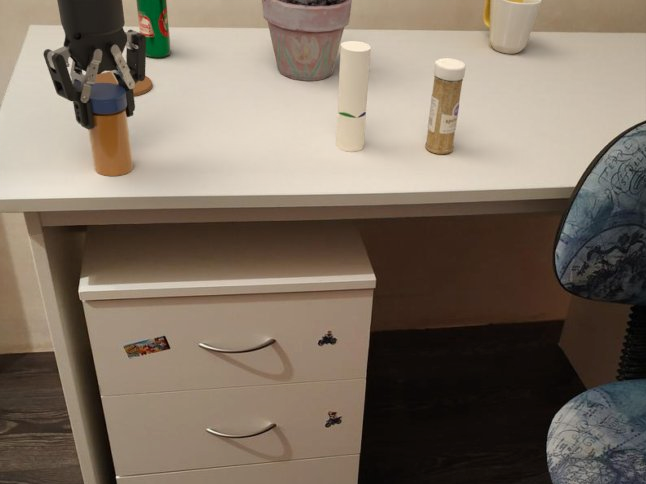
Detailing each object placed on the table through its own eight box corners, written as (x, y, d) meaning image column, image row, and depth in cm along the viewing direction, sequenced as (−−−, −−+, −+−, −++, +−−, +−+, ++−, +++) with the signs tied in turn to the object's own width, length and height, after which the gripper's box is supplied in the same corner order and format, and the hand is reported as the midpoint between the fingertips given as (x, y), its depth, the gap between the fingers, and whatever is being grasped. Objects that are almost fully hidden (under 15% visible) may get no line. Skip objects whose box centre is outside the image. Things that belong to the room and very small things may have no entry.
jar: (110, 179, 110) (99, 107, 103) (86, 166, 112) (74, 95, 105) (141, 168, 113) (132, 97, 106) (117, 155, 115) (107, 85, 108)
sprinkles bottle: (450, 157, 125) (463, 70, 116) (421, 152, 125) (432, 64, 116) (455, 145, 128) (468, 59, 119) (427, 140, 129) (438, 54, 120)
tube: (332, 140, 125) (336, 41, 116) (357, 138, 127) (364, 40, 117) (341, 152, 123) (346, 52, 113) (367, 150, 124) (375, 50, 114)
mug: (539, 57, 164) (551, 2, 157) (494, 58, 161) (504, 3, 154) (510, 34, 173) (520, -18, 167) (467, 35, 170) (475, -18, 163)
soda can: (136, 51, 146) (128, -20, 138) (161, 47, 149) (155, -23, 141) (151, 60, 143) (144, -12, 135) (176, 56, 146) (170, -15, 138)
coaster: (115, 102, 129) (114, 98, 128) (76, 83, 133) (76, 80, 132) (164, 87, 135) (164, 84, 135) (126, 70, 139) (126, 66, 139)
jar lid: (136, 107, 107) (134, 93, 106) (98, 117, 103) (96, 103, 102) (111, 93, 110) (109, 79, 108) (73, 103, 106) (70, 88, 105)
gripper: (54, 4, 91) (79, 145, 102) (155, -16, 100) (168, 115, 111) (15, -13, 94) (43, 126, 105) (117, -31, 103) (132, 99, 114)
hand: (107, 120), depth 108 cm, fingers closed on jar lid, 5 cm apart
